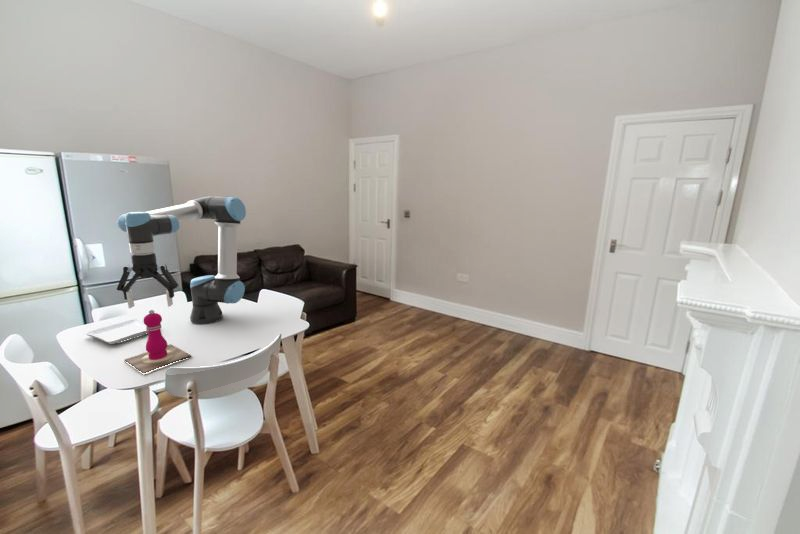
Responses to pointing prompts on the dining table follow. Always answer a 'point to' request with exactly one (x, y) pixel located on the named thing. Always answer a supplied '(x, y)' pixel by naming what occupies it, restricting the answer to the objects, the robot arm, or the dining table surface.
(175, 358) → the walnut stand
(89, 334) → the salad plate
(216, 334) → the dining table surface
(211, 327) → the dining table surface
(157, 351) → the pepper mill
